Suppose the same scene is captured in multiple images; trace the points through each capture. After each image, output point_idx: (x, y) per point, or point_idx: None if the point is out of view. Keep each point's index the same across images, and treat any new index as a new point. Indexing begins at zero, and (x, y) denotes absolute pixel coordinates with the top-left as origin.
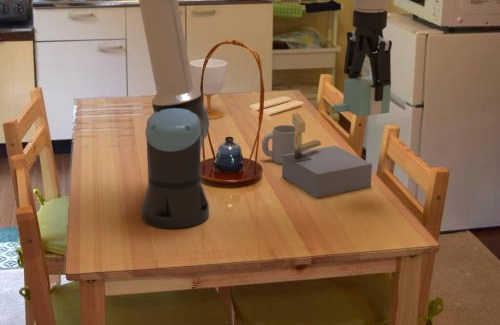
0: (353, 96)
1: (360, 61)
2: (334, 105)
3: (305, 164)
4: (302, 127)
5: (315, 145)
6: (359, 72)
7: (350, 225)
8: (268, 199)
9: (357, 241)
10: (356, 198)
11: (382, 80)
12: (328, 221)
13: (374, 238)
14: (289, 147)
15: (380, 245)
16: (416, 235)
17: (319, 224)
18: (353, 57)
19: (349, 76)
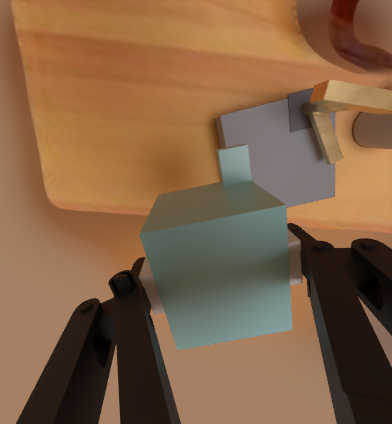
0: (196, 202)
1: (323, 346)
2: (243, 145)
3: (272, 112)
4: (318, 93)
5: (323, 151)
6: (309, 295)
7: (113, 130)
8: (231, 35)
9: (61, 119)
10: (199, 174)
11: (68, 326)
12: (130, 104)
13: (70, 145)
14: (377, 123)
15: (48, 144)
16: (75, 198)
17: (122, 86)
18: (373, 336)
19: (313, 243)
